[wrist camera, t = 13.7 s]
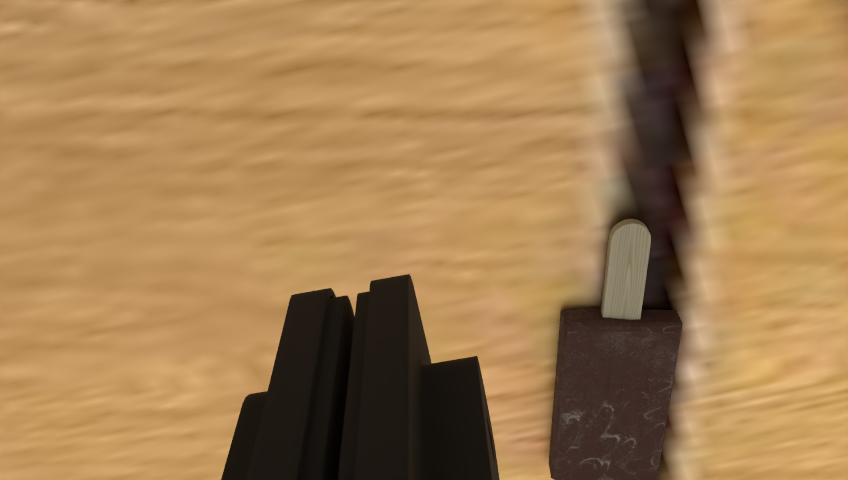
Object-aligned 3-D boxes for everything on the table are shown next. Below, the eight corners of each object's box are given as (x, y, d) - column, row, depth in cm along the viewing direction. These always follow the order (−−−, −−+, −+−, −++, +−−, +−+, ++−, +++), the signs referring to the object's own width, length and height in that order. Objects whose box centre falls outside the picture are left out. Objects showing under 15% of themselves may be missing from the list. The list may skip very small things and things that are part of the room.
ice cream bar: (567, 212, 35) (547, 471, 42) (572, 230, 34) (550, 495, 41) (689, 212, 35) (648, 471, 42) (699, 229, 34) (656, 495, 41)
